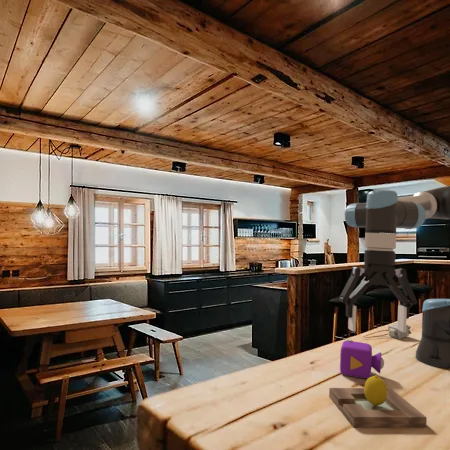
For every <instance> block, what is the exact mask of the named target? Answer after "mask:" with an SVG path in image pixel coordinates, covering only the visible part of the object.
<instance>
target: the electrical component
mask: <svg viewBox="0 0 450 450" xmlns="http://www.w3.org/2000/svg"><path fill="white" fill-rule="evenodd" d="M397 326H398V322H396V323H393V324H389V325H388V327H387V329H383V330H378V331H374V332H370V333H369V334H365V335H364V336H362V338H364V339H367V338H371V336H370V335H374V334H376V333H381V332H388V333H384V334H381V335H374V336H372V338H379V337H383V336H384V337H385V336H387V335H388V337H392V338H394V339H397V340H401V339H403V338H406V337H409V336H410V335H411V334H412V332H411V330H410V329H411V326H410V325H408V324H407V323H406V332H402V331H400V330H398V329H397Z"/></svg>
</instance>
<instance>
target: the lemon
mask: <svg viewBox="0 0 450 450" xmlns="http://www.w3.org/2000/svg"><path fill="white" fill-rule="evenodd" d="M363 388H364V393H365V397H366V399H367V400H368V401H369V402H370V403H371V404H373V406H375V407H376V406H378V405H381V404H383V403H384V402H385V400H386V398H387V389H388V387H387V385H386V382H385V381H384V380H383V379H382V378H381V377H379V376H378V375H376V374H375V375H373V376H370V377H369V378H368V379H366V381H365V384H364V387H363Z"/></svg>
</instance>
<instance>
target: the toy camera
mask: <svg viewBox="0 0 450 450" xmlns="http://www.w3.org/2000/svg"><path fill="white" fill-rule="evenodd" d="M341 344H342V345H341V347H340V357H339V358H340V359H339V370H340V373H341V374H342V375H345V376H349V377H354V378H360V379H364V380H365V379H366V380H367V379H368V378H370V377H371V374H372V368H373V369H374V371H376V372H377V373H379V374H381V373H382V372H381V370H382V369H383V368H384V366H385V360H384V358H383V357H382V352H378V353H376V354H374V355H373V348H372V346H371V344H369V343H366V342H360V341H353V339H350V338H348V339H346V340H344V341H343V342H342V343H341Z"/></svg>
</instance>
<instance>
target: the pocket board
mask: <svg viewBox="0 0 450 450" xmlns="http://www.w3.org/2000/svg"><path fill="white" fill-rule="evenodd" d="M328 390H329V391H328V393H329V394H328V397H329V399H330V400H331V401H332V402H333V404H334V405H335V407H336V408H337V409H338V410H339V411H340V412H341V414H342V415H343V416H344V417H345V418H346V420H347V421H348V422H349V424H350V425H351V426H352V428H354V429H355V428H356V429H357V428H359V429H360V428H361V429H362V428H365V429H366V428H367V429H372V428H373V429H377V428H379V429H382V428H384V429H385V428H386V429H389V428H391V429H392V428H393V429H394V428H395V429H397V428H398V429H399V428H401V429H405V428H408V429H410V428H411V429H412V428H413V429H417V428H419V429H423V428H424V429H425V428H427V416H426V415H424V414H423V413H422V412H421V411H419V410H418V409H417V408H416V407H415V406H414V405H413V404H411V403H410V402H408V401H407V400H406V399H405V398H403V396H401V395H400V394H398V392H397V391H395V390H393V389H392V388H387V398H386V400H385V402H384V403H383V404H381V405H378V406H376V407H375V406H373V404H371V403H370V402H369V401H368V400H367V399H366V397H365V393H364V387H362V388H361V387H358V388H357V387H356V388H355V387H329V389H328Z"/></svg>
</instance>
